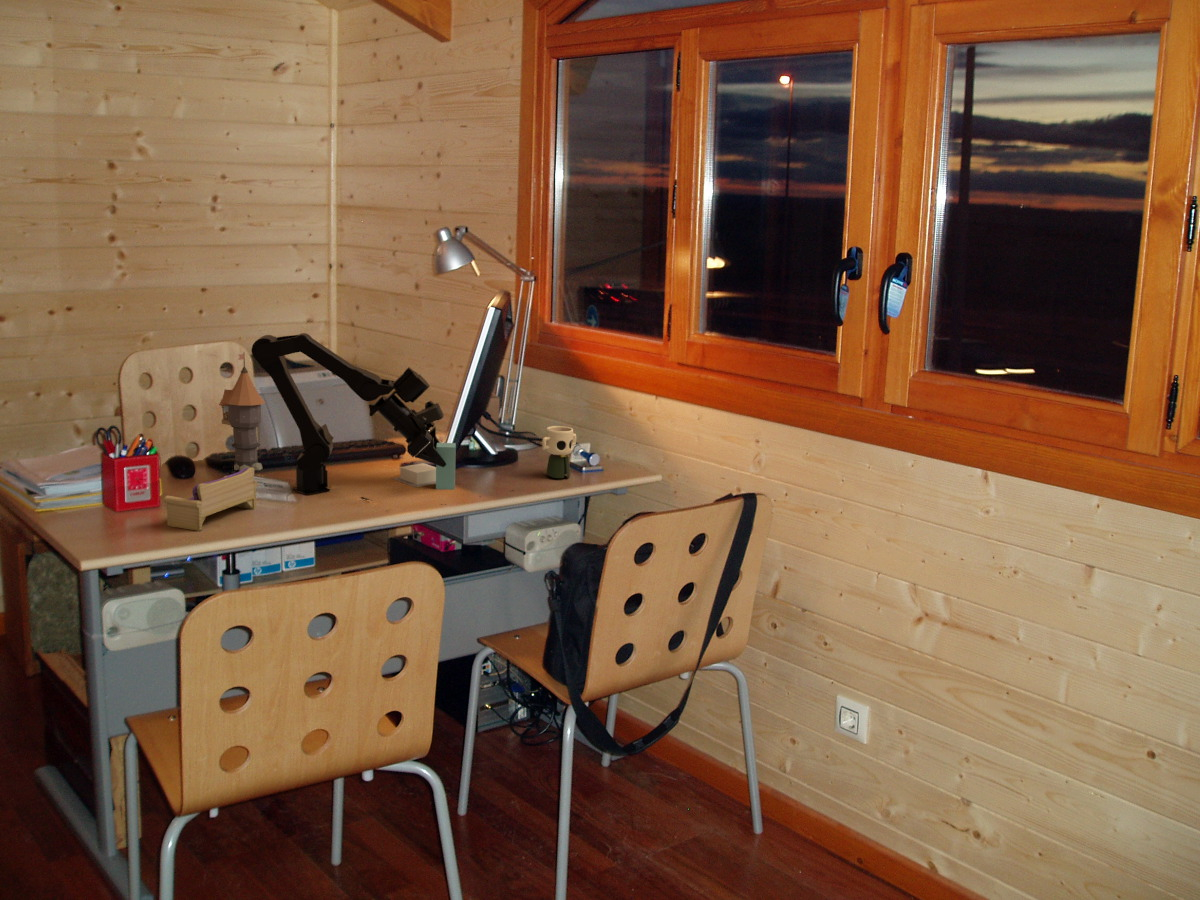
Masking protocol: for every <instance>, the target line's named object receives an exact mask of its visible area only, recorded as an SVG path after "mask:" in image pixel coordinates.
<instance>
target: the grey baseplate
mask: <svg viewBox="0 0 1200 900" xmlns="http://www.w3.org/2000/svg"><path fill="white" fill-rule="evenodd" d="M391 480H395V481H398V482H400V483H402V484H406V485H408V486H411V487H414V488H419V487H423V486H429V485H436V481H435V482H429V483H424V484H418V485H416V484H414V483H411V482H408V481H405V480H402V479H400V476H398V477H392V478H391Z"/></svg>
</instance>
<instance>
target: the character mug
mask: <svg viewBox="0 0 1200 900" xmlns="http://www.w3.org/2000/svg"><path fill="white" fill-rule="evenodd" d="M541 442H542V443H541V448H542V450H544V451H545V452H546V453H549V454H550V455H549V456H548V460H547V461H548V462H547V467H546V476H548V477H550V478H553V479H564V478H565V475H566V478H569V477H570V476H571V472H570V471H571V470H570V460H569V459H570V458H569V456H568V455H569V454H571V453H572V452H573V450H574V446H576V444H577V434H576V433H574V428H572V427H571V426H570V427H569V426H563V425H561V426H560V425H553V426H548V427H546V430H545V437H542V441H541Z"/></svg>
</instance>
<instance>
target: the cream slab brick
mask: <svg viewBox="0 0 1200 900" xmlns="http://www.w3.org/2000/svg"><path fill="white" fill-rule="evenodd" d="M399 468H400V469H399V471H400V472H399V473H400V474H399V477H400V479H402V480H405V481H408V482H411V483H414V484H416V485H418V484H424V483H429V482H435V481H436V466H433V465H430V464H427V463H424V462H423V463H415V464H412V465H411V464H410V465H405V466H400V467H399Z"/></svg>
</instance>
